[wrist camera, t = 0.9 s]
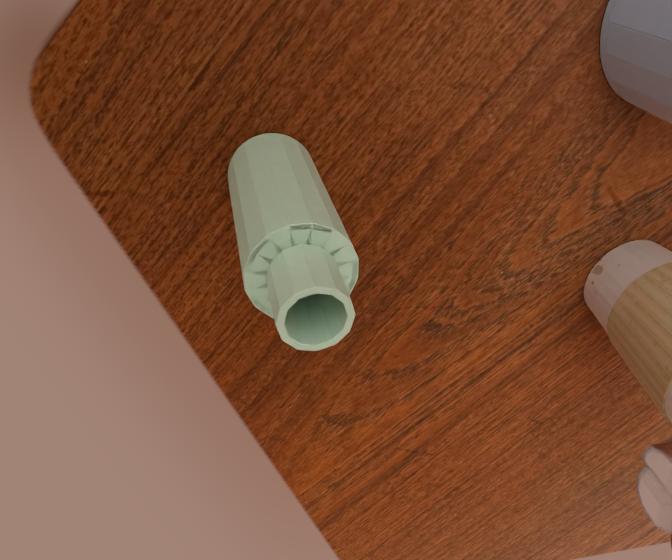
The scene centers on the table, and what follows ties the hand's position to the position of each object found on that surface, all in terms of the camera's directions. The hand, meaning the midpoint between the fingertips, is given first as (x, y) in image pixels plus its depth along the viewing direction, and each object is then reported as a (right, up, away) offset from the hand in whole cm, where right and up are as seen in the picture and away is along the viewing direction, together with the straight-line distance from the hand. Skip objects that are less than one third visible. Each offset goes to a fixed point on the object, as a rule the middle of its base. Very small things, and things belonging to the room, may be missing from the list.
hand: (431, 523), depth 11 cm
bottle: (-5, +10, +21) cm, 24 cm away
